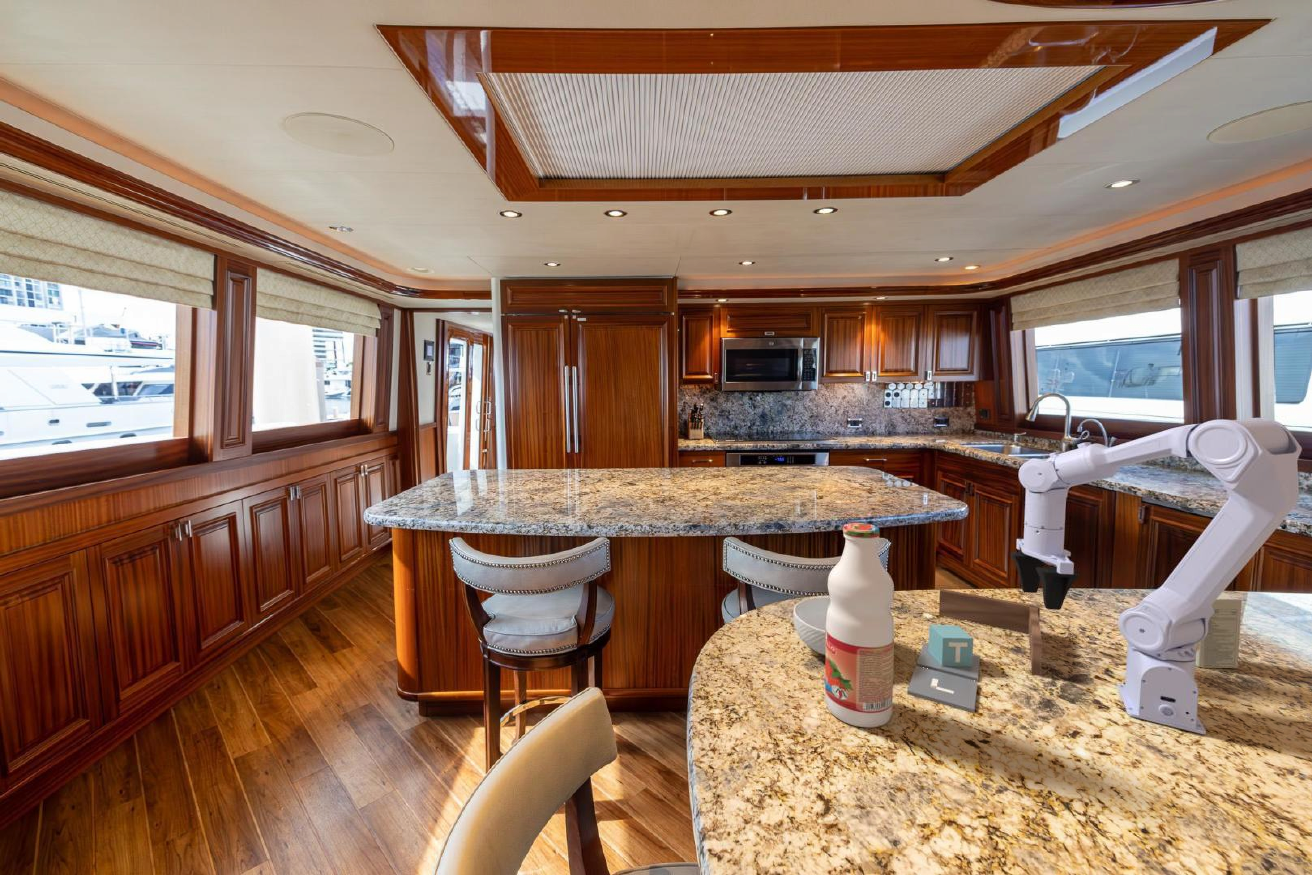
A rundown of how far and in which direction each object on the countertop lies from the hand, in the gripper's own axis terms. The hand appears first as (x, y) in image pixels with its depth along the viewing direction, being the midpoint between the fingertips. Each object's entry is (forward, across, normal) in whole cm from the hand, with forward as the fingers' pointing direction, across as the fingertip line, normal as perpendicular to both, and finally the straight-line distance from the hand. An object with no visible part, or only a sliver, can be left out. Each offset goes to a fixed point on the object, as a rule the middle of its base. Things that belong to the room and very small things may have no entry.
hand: (1040, 600), depth 92 cm
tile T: (+10, -6, +17) cm, 20 cm away
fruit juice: (+10, -23, +35) cm, 43 cm away
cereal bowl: (+10, -5, +35) cm, 37 cm away
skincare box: (+10, +1, -26) cm, 28 cm away
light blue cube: (+9, -6, +17) cm, 20 cm away
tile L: (+10, -15, +21) cm, 28 cm away
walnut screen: (+10, +3, +8) cm, 13 cm away
